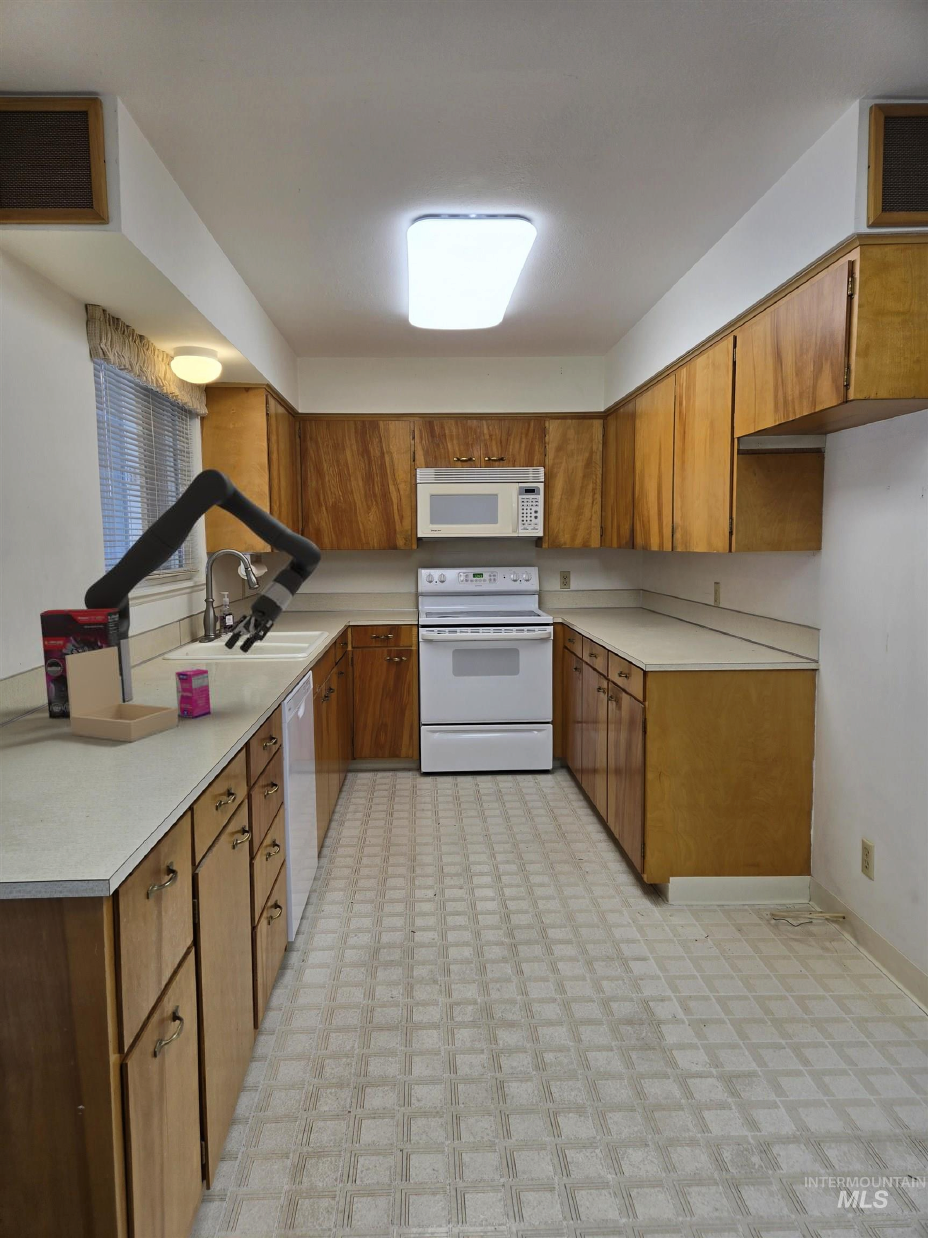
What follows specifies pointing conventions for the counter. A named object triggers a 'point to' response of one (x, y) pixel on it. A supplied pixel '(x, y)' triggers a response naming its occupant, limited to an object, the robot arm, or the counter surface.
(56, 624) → the graphics card box
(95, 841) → the counter surface
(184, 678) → the supplement box
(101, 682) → the mailer box
